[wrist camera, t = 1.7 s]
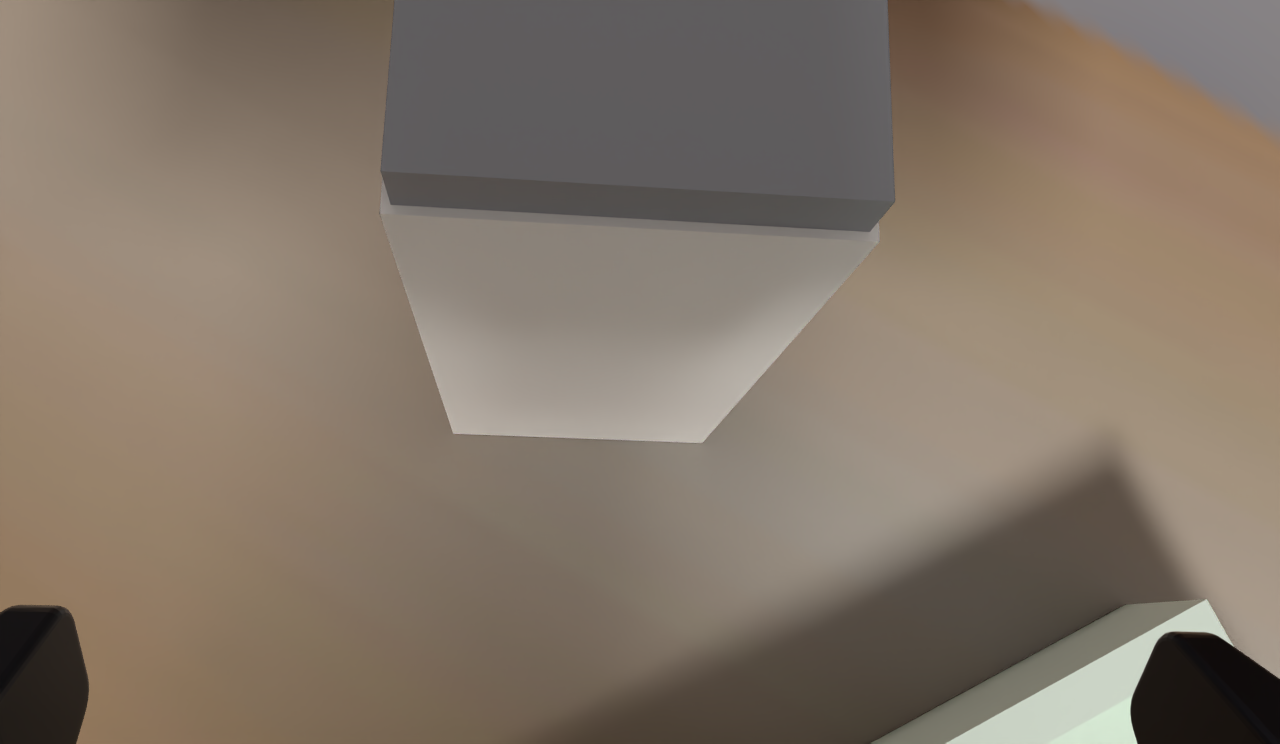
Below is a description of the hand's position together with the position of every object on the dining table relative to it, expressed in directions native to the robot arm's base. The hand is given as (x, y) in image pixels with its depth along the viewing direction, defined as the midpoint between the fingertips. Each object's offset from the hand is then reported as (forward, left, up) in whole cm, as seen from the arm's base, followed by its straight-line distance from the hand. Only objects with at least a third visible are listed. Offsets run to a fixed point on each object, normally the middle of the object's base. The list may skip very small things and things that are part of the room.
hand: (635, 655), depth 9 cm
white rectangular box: (+3, +6, -13) cm, 14 cm away
